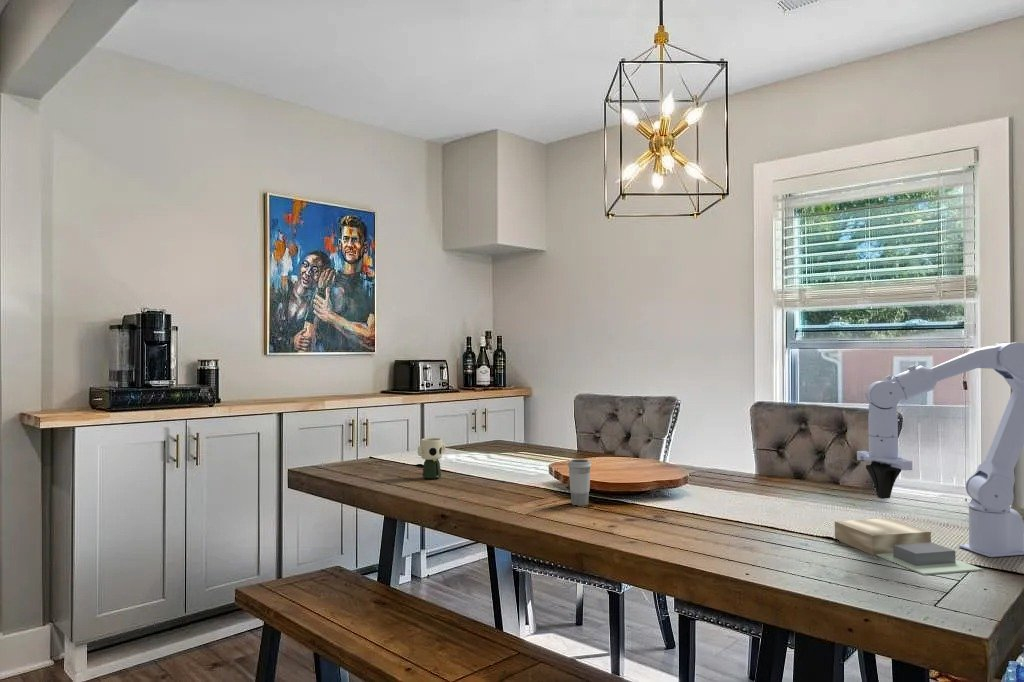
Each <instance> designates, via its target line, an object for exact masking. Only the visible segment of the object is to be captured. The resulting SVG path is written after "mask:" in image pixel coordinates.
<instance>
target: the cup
mask: <svg viewBox="0 0 1024 682" xmlns="http://www.w3.org/2000/svg"><path fill="white" fill-rule="evenodd" d="M592 465H593V464H592V463H591V460H590V459H588V458H586V459H585V458H572V459H569V460H568V463H567V466H566V467H568V468H569V471H568V473H569V474H568V477H569V479H568V480H569V491H570V501H571V505H573V506H575V505H578V506H577V507H584V506H585V505H586V506H588V505H589V498H590V496H589V495H590V493H589V492H590V486H591V485H590V483H591V467H592Z"/></svg>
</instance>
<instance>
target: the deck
mask: <svg viewBox="0 0 1024 682" xmlns="http://www.w3.org/2000/svg"><path fill="white" fill-rule="evenodd" d="M835 538H836V539H838V540H839V541H838V540H837V541H838V542H841V543H843V544H845V545H848V546H850V547H852V548H855V549H858V550H860V551H863V552H865V553H867V554H869V555H872V556H877V555H876V554H885V553H893V545H901V544H915V543H930V542H932V532H931V531H930V530H927V529H924V528H920V527H918V526H915V525H911V524H908V523H906V522H903V521H900V520H897V519H893V518H890V517H885V518H884V517H883V518H870V519H869V518H866V519H853V520H852V519H850V520H837V521H836V520H835V521H834V539H835Z"/></svg>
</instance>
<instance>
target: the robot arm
mask: <svg viewBox="0 0 1024 682" xmlns="http://www.w3.org/2000/svg"><path fill="white" fill-rule="evenodd" d="M907 369H908V370H905V371H903V372H900V373H897V374H894V375H892V376H891V374H889V375H887V376H884V377H885V380H877V381H874V382H872V383H871V384H870V385H869V386H868V388H867V389H866V392H865V399H866V400H867V401H868V402H869V403H868V415H867V416H868V418H867V419H868V420H867V421H868V426H867V428H868V451H867V450H858V451H856V460H858V461H866V462H868V463H870V464H866V465H865V469H866V470H867V472H868V474H869V476H870V477H871V479H872V480H871V481H872V483H873V486H874V488H875V493H876V495H877V496H876V497H877V498H878V499H885V500H887V499H890V498H891V494H892V491H893V488H894V485H895V482H896V480H897V478H898V477H899V475H900V474H901V472H902V471H913V461H912V460H910V459H906V458H903V457H901V456H899V421H898V418H899V417H898V408H897V407H898V404H899V403H900V401H903V402H904V401H906V400H910V399H913V398H915V397H918V396H921V395H923V394H926V393H929V392H932V391H933V390H935V387H936V385H937V384H938V382H940V381H943V380H947V379H949V378H952V377H955V376H958V375H960V374H963V373H966V372H970V371H972V370H975V369H989V370H990V369H991V370H994V371H995V372H996V373H997V374H999V375H1001V376H1002V377H1003V378H1004V380H1005V382H1007V384H1008V385H1009V388H1011V391H1012V392H1011V394H1010V397H1009V400H1007V401H1008V402H1007V404H1006V406H1005V409H1004V412H1003V414H1002V417H1001V418H1000V422H999V424H998V426H997V429H996V432H995V433H994V437H993V439H992V442H991V444H990V447H989V449H988V452H987V454H986V456H985V458H984V460H983V461H982V462H981V463H980V464H979V465H978V467H977V469H976V471H975V472H974V473H973V474H972V475H971V476H970V477H969V478H968V479H967V480H966V482H965V483H966V484H965V490H966V494H967V495H968V496H969V498H971V499H970V502H969V503H968V543H962V544H958V547H959V548H962V549H965V550H968V551H971V552H973V553H976V554H980V555H983V556H986V557H988V558H997V557H998V558H999V557H1000V558H1001V557H1010V556H1011V557H1013V556H1023V555H1024V520H1023V517H1022V515H1021V514H1020V513H1019V512H1018V511H1017V510H1015V509H1014V508H1011V506H1012V504H1013V503H1014V497H1015V496H1014V495H1015V494H1014V485H1015V482H1016V479H1015V478H1016V477H1015V468H1016V465H1017V462H1018V460H1019V458H1020V455H1021V452H1022V451H1023V447H1024V342H1022V341H1021V342H1020V341H1015V342H1006V341H1003V342H997V343H994V344H993V345H987V346H983V347H979V348H976V349H973V350H971V351H968V352H965V353H962V354H961V355H958V356H956V357H954V358H951V359H949V360H947V361H944V362H942V363H940V364H937V365H935V366H933V367H930V368H929V367H926V366H923V365H918V366H916V365H911V366H908V367H907Z"/></svg>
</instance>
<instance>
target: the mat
mask: <svg viewBox="0 0 1024 682" xmlns="http://www.w3.org/2000/svg"><path fill="white" fill-rule="evenodd" d="M875 556H877V557H879V558H881V559H884V560H887V561H889V562H891V563H893V562H894V564H896V563H897V564H896V565H898V564H899V566H901V567H903V568H905V567H906V569H908V570H910V569H911V571H913V572H915V573H917V574H920V575H923V576H927V575H940V574H951V573H952V574H953V573H954V574H955V573H968V572H976V571H983V568H981V567H978V566H975V565H973V564H970V563H967V562H964V561H962V560H959V559H956V563H948V564H935V565H922V566H915V565H912V564H910V563H907V562H905V561H903V560H900V559H898V558H895V557H893V553H885V554H876V555H875Z"/></svg>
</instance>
